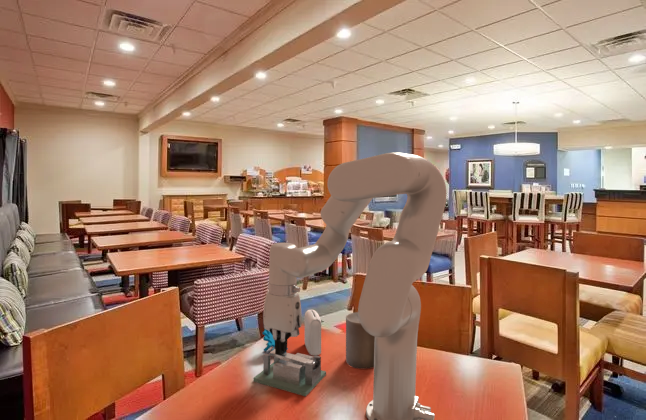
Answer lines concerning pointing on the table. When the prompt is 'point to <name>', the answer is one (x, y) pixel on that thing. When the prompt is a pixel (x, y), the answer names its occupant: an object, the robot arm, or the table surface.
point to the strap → (294, 358)
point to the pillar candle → (358, 344)
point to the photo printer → (313, 332)
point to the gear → (269, 340)
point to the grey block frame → (293, 370)
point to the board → (300, 390)
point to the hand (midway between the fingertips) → (280, 352)
